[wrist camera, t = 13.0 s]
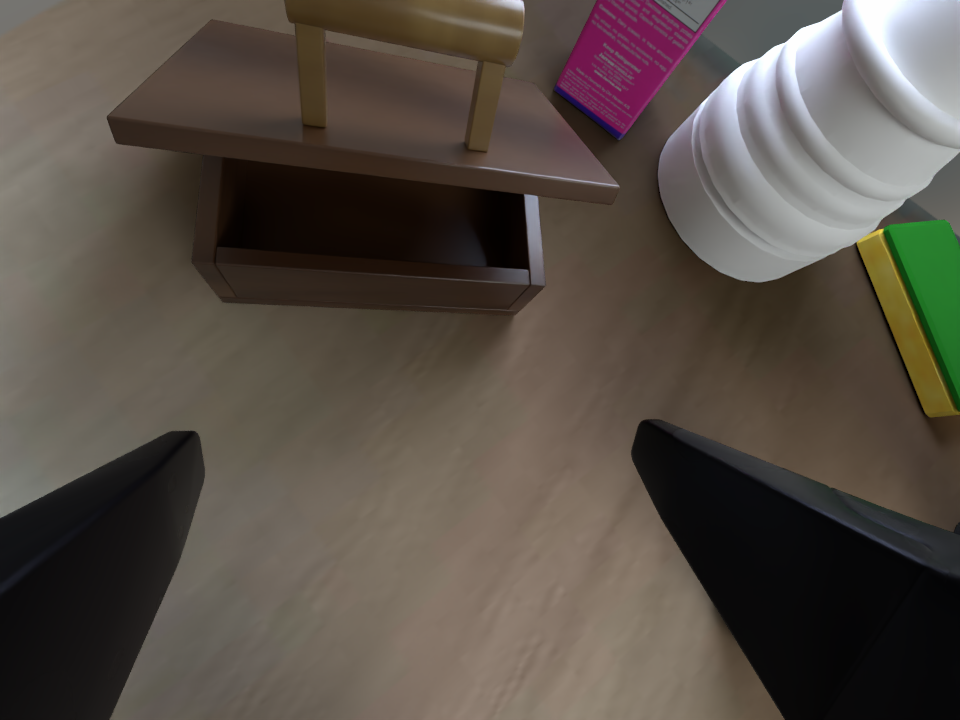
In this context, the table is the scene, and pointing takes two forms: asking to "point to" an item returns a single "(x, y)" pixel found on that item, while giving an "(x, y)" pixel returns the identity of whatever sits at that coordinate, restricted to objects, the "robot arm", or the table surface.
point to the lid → (368, 100)
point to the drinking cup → (957, 529)
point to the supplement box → (630, 56)
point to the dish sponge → (921, 304)
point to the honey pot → (817, 138)
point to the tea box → (363, 241)
